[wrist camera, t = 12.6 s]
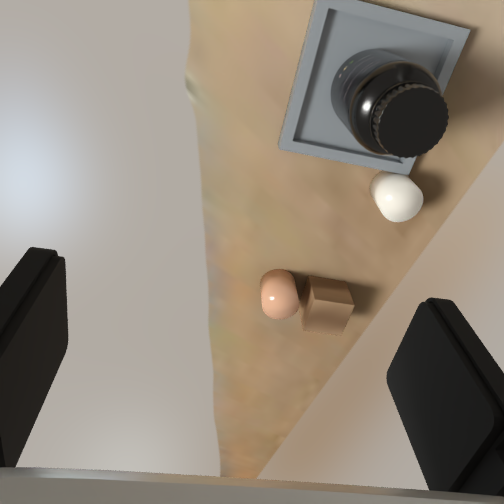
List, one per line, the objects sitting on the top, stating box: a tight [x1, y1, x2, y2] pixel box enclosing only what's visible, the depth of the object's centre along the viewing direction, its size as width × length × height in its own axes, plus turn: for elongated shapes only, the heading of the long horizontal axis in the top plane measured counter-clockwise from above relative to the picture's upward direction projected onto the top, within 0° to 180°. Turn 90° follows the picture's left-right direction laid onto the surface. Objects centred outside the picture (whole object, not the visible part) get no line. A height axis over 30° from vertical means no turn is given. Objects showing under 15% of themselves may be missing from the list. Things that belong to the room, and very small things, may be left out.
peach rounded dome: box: [260, 269, 299, 319], centre depth 49 cm, size 4×4×4 cm
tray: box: [278, 0, 470, 175], centre depth 39 cm, size 13×13×2 cm
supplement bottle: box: [330, 49, 449, 158], centre depth 34 cm, size 7×7×12 cm
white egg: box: [370, 170, 423, 222], centre depth 43 cm, size 4×4×4 cm
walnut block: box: [299, 276, 355, 336], centre depth 50 cm, size 4×4×4 cm
